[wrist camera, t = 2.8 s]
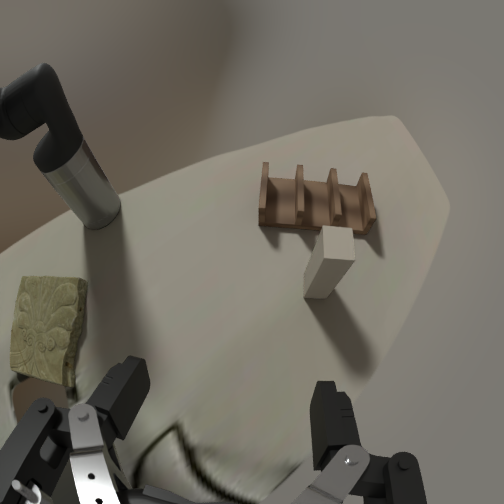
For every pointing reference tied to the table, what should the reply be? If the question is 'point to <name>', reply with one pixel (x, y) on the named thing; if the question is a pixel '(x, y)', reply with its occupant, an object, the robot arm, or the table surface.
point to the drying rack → (315, 203)
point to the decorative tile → (47, 327)
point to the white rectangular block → (328, 261)
